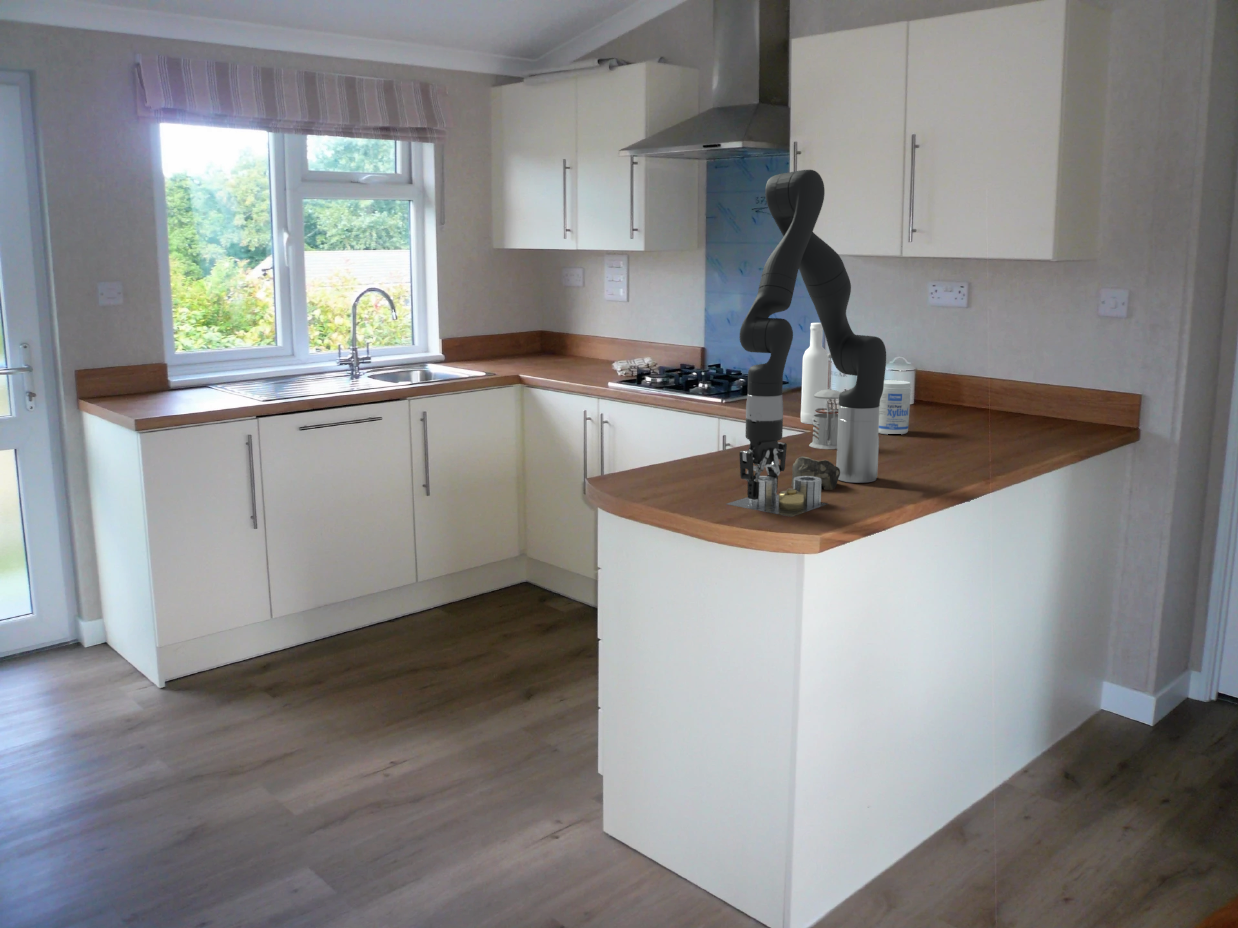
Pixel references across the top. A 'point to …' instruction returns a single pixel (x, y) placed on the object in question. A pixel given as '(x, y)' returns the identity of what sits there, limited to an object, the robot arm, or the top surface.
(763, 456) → the robot arm
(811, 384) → the bottle
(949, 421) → the top surface
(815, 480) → the grey hollow pipe
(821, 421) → the french press
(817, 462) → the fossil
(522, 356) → the top surface
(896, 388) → the supplement tub
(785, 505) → the carrier
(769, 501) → the planet gear
